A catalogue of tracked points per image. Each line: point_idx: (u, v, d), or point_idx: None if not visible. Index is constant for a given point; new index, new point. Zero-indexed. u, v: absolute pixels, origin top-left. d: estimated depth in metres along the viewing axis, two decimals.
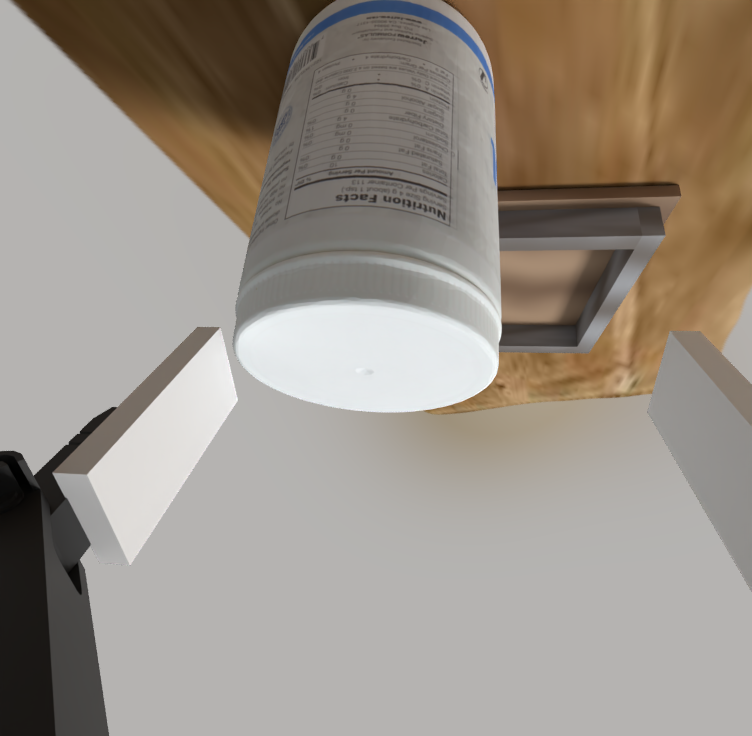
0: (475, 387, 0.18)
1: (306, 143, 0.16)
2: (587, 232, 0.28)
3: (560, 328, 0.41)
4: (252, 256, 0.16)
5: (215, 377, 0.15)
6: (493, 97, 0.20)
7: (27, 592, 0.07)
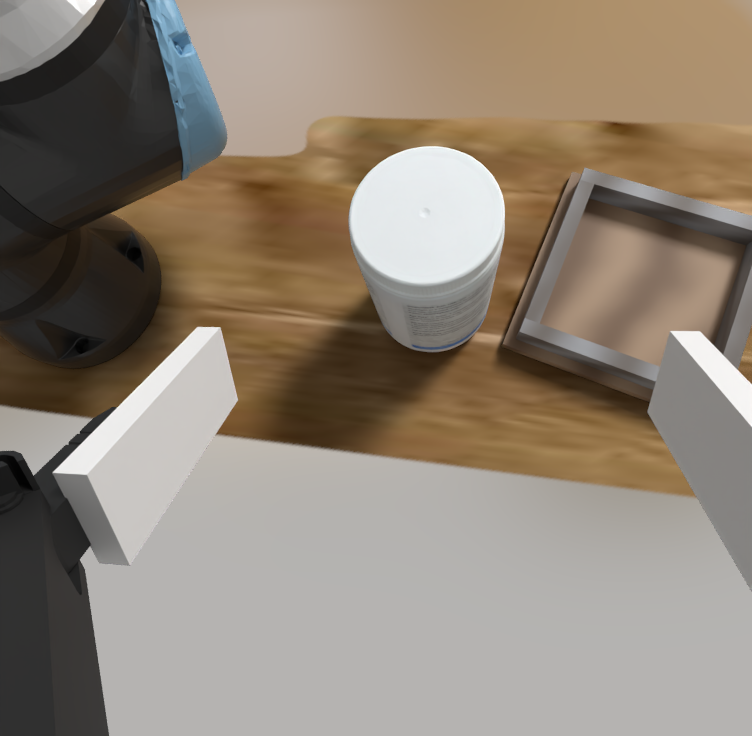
0: (470, 163, 0.29)
1: None
2: (567, 211, 0.41)
3: (744, 256, 0.39)
4: (358, 264, 0.31)
5: (215, 377, 0.15)
6: None
7: (27, 592, 0.07)
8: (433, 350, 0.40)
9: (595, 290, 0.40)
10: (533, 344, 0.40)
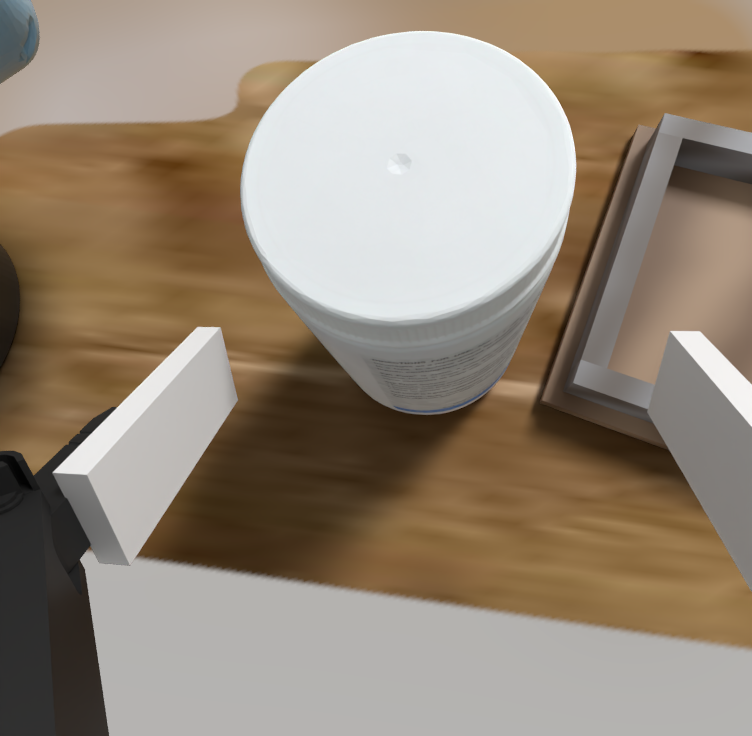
0: (495, 58, 0.14)
1: None
2: (640, 182, 0.25)
3: None
4: None
5: (215, 377, 0.15)
6: None
7: (27, 592, 0.07)
8: (429, 413, 0.25)
9: (690, 309, 0.25)
10: (593, 400, 0.24)
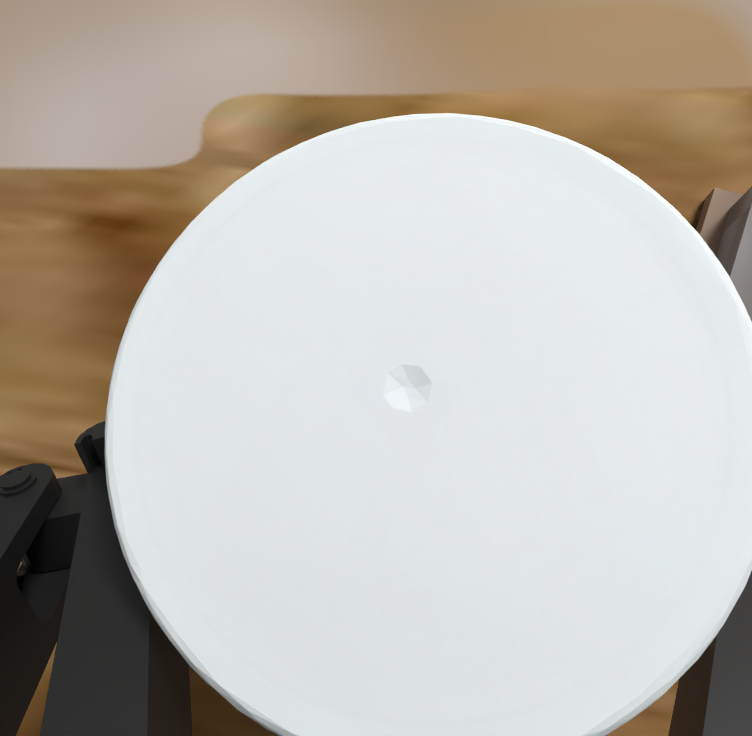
0: (592, 173, 0.07)
1: None
2: (728, 274, 0.19)
3: None
4: None
5: None
6: None
7: None
8: None
9: None
10: None
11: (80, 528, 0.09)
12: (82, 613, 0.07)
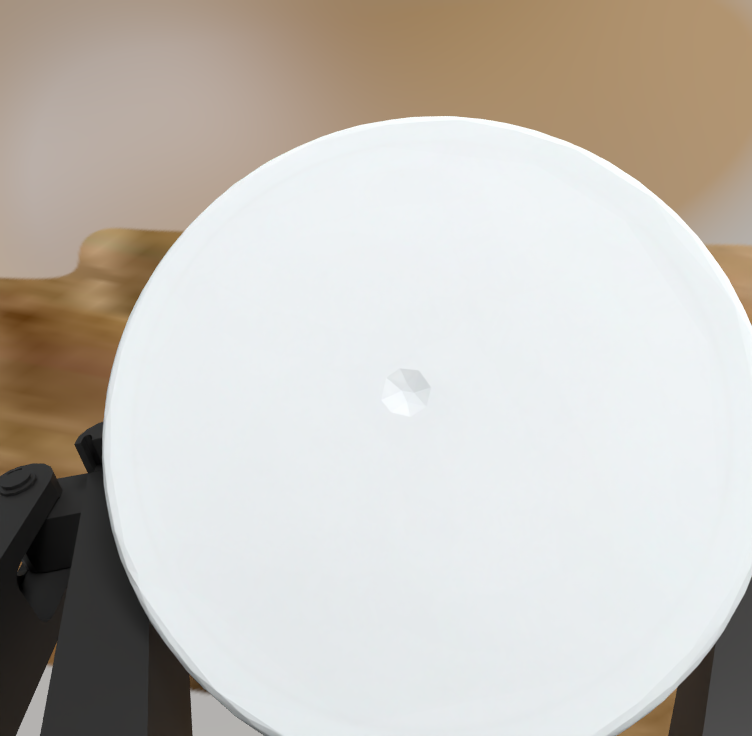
0: (592, 177, 0.07)
1: None
2: None
3: None
4: None
5: None
6: None
7: None
8: None
9: None
10: None
11: (80, 528, 0.09)
12: (82, 613, 0.07)
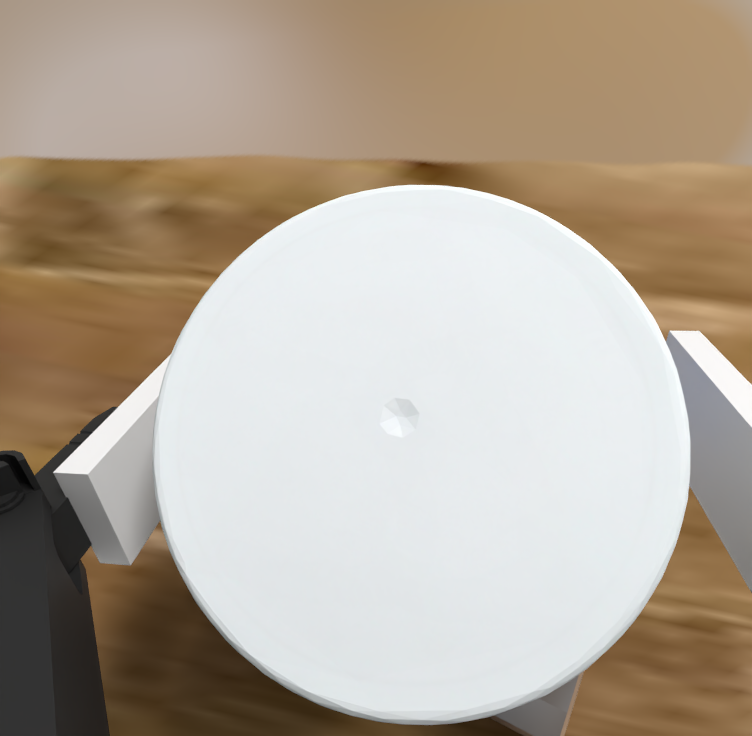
0: (551, 240, 0.09)
1: None
2: None
3: None
4: None
5: None
6: None
7: (27, 592, 0.07)
8: None
9: None
10: None
11: None
12: None
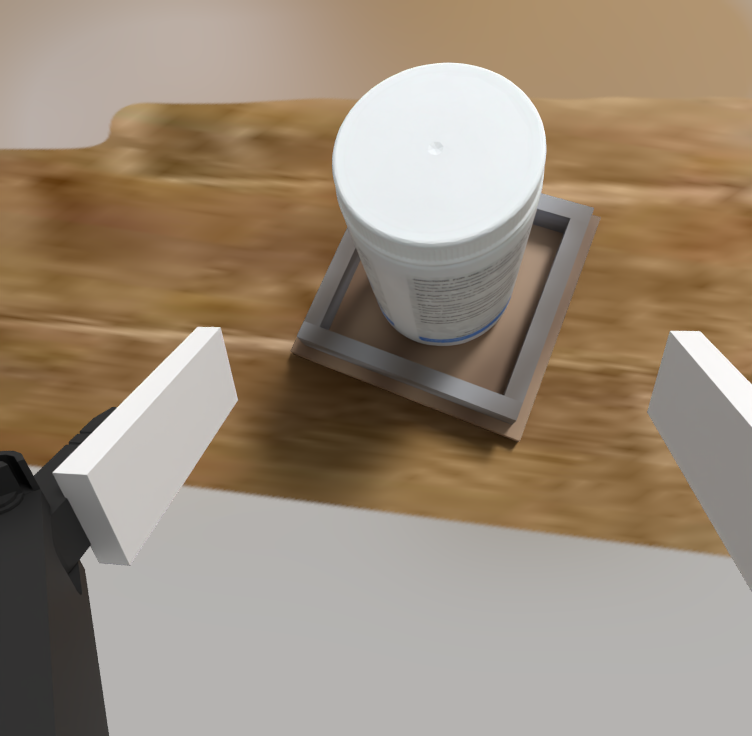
0: (496, 81, 0.21)
1: None
2: None
3: (558, 245, 0.34)
4: (347, 226, 0.24)
5: (215, 377, 0.15)
6: None
7: (27, 592, 0.07)
8: (446, 343, 0.32)
9: None
10: (321, 350, 0.35)
11: None
12: None
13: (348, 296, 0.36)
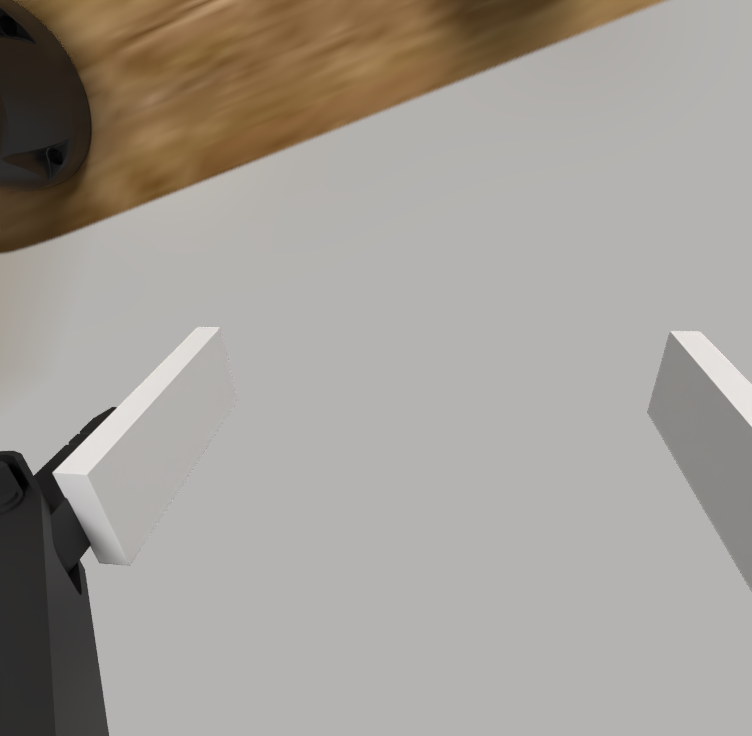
0: None
1: None
2: None
3: None
4: None
5: (215, 377, 0.15)
6: None
7: (27, 592, 0.07)
8: None
9: None
10: None
11: None
12: None
13: None
